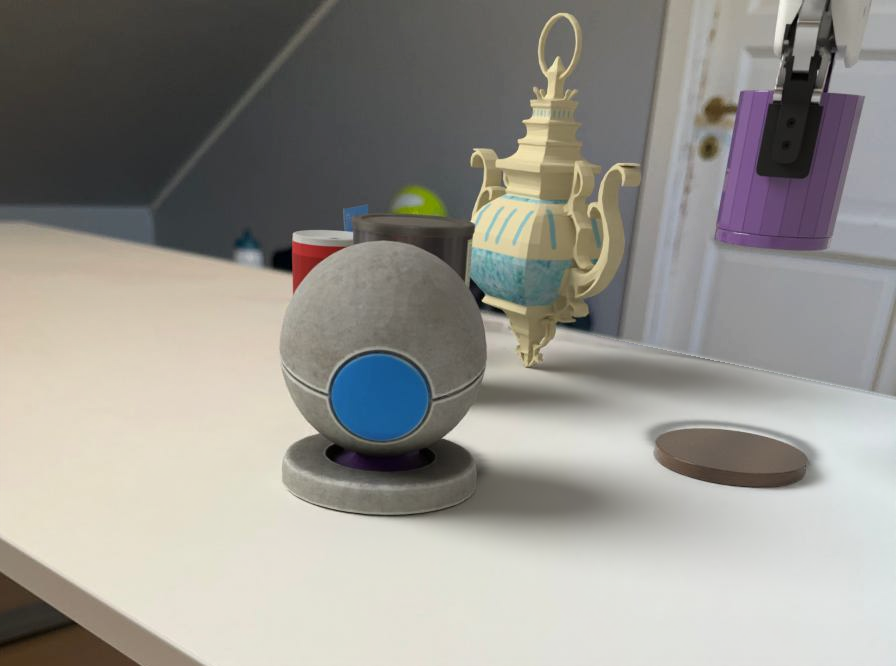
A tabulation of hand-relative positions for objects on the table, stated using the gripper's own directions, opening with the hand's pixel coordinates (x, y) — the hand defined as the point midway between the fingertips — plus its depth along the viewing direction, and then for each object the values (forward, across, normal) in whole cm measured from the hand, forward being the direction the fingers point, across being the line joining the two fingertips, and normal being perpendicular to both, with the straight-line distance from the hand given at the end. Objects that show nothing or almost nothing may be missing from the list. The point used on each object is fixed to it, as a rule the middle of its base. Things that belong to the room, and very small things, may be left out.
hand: (786, 173), depth 65 cm
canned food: (+20, +16, +42) cm, 49 cm away
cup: (+4, 0, 0) cm, 4 cm away
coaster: (+20, -1, 0) cm, 20 cm away
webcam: (+20, -18, +21) cm, 34 cm away
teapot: (+20, +21, +22) cm, 36 cm away
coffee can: (+20, +6, +29) cm, 35 cm away
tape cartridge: (+20, +32, +45) cm, 59 cm away
